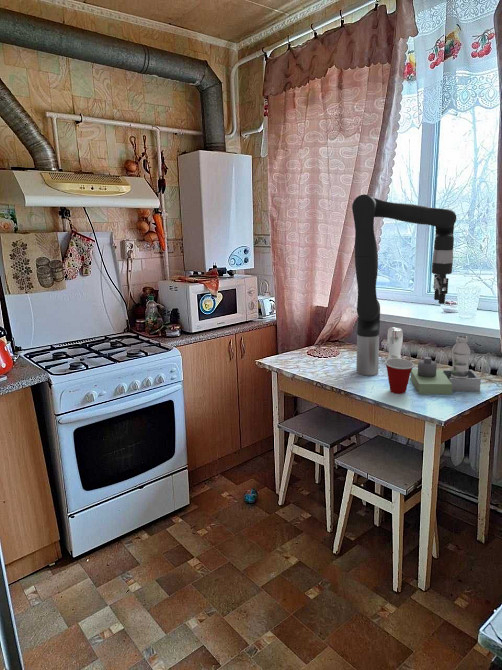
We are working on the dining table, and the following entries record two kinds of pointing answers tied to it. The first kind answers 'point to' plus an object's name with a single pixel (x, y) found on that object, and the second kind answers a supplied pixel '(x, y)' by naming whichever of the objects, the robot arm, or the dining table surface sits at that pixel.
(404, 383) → the plastic cup
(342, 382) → the dining table surface
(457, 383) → the grey open box
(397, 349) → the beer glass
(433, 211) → the robot arm
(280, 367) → the dining table surface
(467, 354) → the plastic bottle
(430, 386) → the green base with knob
